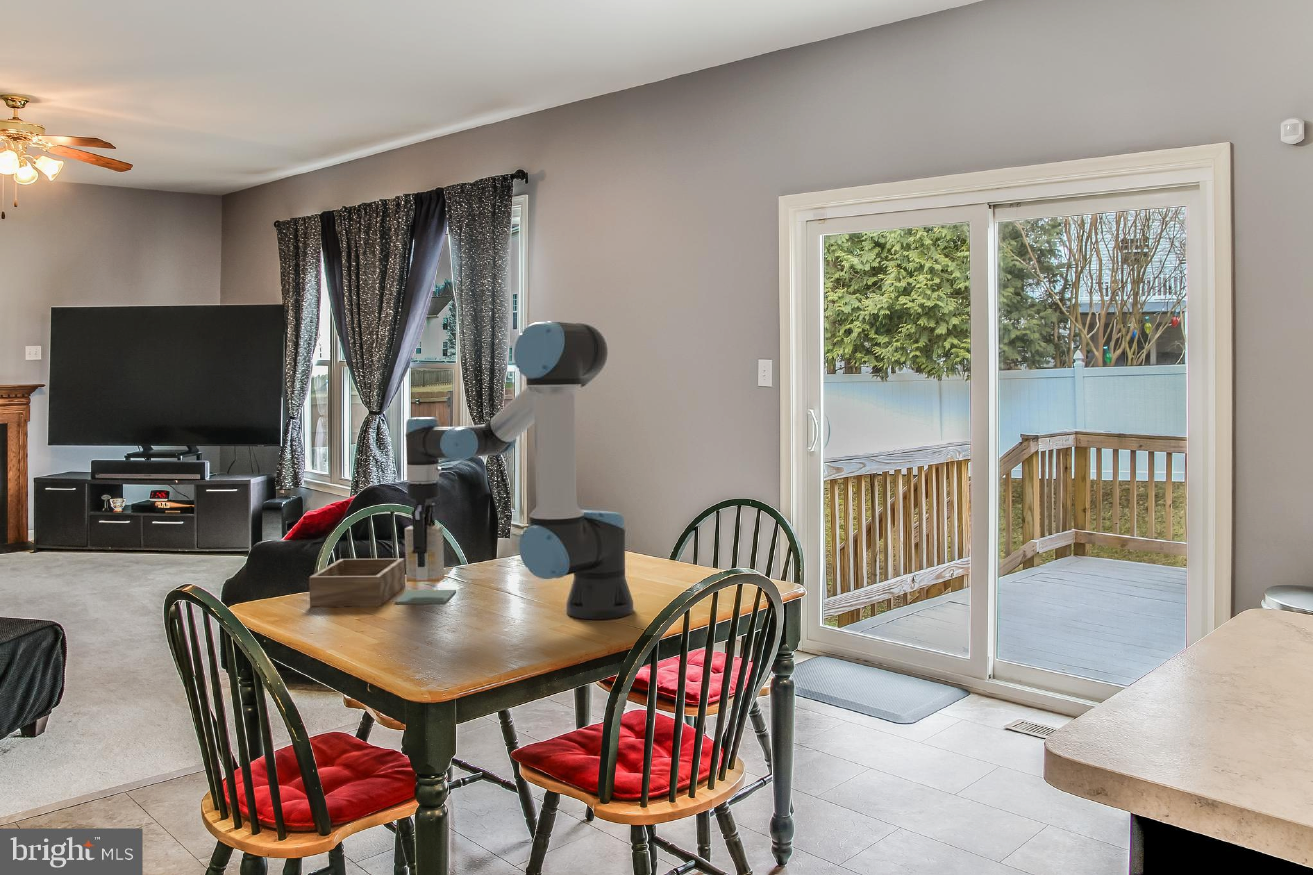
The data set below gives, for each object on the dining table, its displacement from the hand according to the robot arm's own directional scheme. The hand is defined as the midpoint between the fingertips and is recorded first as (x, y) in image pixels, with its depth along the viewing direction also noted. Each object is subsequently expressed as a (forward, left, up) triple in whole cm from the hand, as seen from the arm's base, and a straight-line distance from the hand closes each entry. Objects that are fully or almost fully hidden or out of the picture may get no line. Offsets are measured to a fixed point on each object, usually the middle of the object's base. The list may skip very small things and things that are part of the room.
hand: (425, 577), depth 234 cm
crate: (+3, +17, -5) cm, 18 cm away
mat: (0, 0, -5) cm, 5 cm away
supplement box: (0, 0, -1) cm, 1 cm away
